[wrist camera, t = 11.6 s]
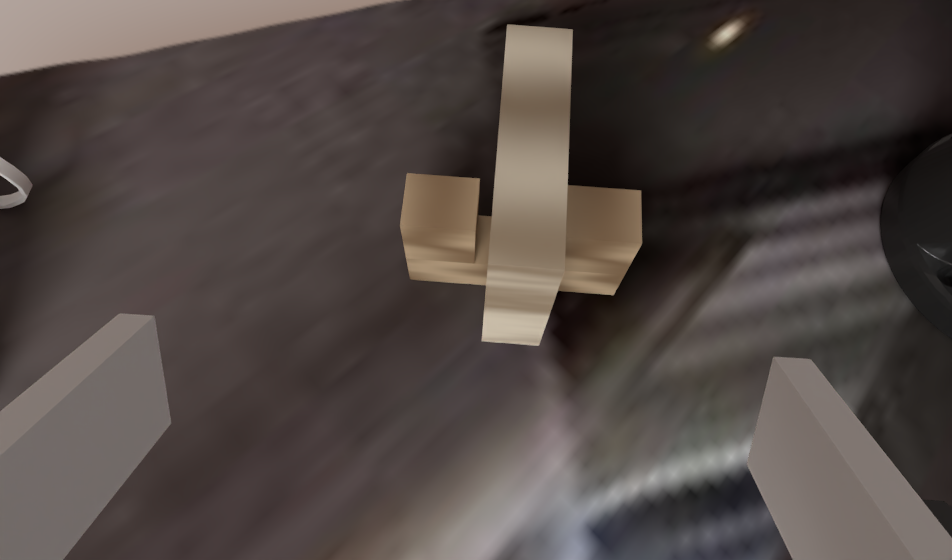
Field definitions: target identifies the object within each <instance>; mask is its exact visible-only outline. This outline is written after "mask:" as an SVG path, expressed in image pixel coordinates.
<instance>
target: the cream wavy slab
mask: <svg viewBox="0 0 952 560" xmlns="http://www.w3.org/2000/svg"><path fill="white" fill-rule="evenodd" d="M572 38H573V29H561V28H547V27H534V26H520V25H507V33H506V45H505V58H504V70H503V83H502V95H501V107H500V120H499V132H498V145H497V157H496V170H495V182H494V194H493V207H492V219H491V232H490V244H489V257H488V269H487V282H486V294H485V307H484V319H483V331H482V341H486V342H498V343H511V344H523V345H535V346H539V344H540V341H541V338H542V335H543V332H544V329H545V326H546V323H547V321H548V318H549V315H550V312H551V309H552V306H553V303H554V300H555V297H556V294H557V291H558V288H559V286H560V283H561V280H562V277H563V274H564V271H565V251H566V220H567V190H568V159H569V129H570V98H571V68H572Z"/></svg>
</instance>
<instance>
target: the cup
mask: <svg viewBox="0 0 952 560" xmlns="http://www.w3.org/2000/svg"><path fill="white" fill-rule="evenodd" d="M0 176H2V177H4V178H5V179H6V180H8V181H9V182H10V183H12V184H13V185H14V186H16V187H17V188H18V190H19V191H18V192H16V193H13V194H11V195H3V196H0V209H5V208H11V207H14V206H17V205H19V204H21V203H23V202H25V200H26V198H27V197H28V194H29V192H30V190H31V188H32V186H33V185H32V183H31V182H30V180H29V179H28V177H27V176H26V175H25V174H23V173H22V172H21V171H20V170H18V169H17V168H16V167H15V166H13V165H12V164H10V163H8V162H7V161H5V160H4V159H2V158H1V157H0Z"/></svg>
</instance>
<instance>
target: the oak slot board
mask: <svg viewBox="0 0 952 560" xmlns="http://www.w3.org/2000/svg"><path fill="white" fill-rule="evenodd" d="M479 188H480V179H479V178H465V177H452V176H438V175H425V174H411V173H407V177H406V184H405V192H404V199H403V207H402V214H401V222H400V228H401V233H402V238H403V244H404V249H405V254H406V260H407V265H408V270H409V276H410V280H423V281H436V282H449V283H462V284H476V285H486V282H487V269H488V257H489V244H490V232H491V219H492V216H480V215H478V211H479ZM641 245H642V214H641V191H640V190H627V189H613V188H600V187H586V186H573V185H568V190H567V220H566V251H565V271H564V274H563V277H562V280H561V283H560V286H559V288H558V291H567V292H580V293H593V294H606V295H614V293H615V291H616V290H617V288H618V286H619V284H620V282H621V281H622V279H623V277H624V275H625V273H626V272H627V270H628V268H629V266H630V264H631V263H632V261H633V259H634V257H635V255H636V254H637V252H638V250H639V248H640V246H641Z"/></svg>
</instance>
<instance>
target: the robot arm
mask: <svg viewBox="0 0 952 560" xmlns="http://www.w3.org/2000/svg"><path fill="white" fill-rule="evenodd" d="M881 235H882V241H883V246H884V250H885V254H886V257H887V260H888V262H889V265H890V267H891V270H892V272H893V274H894V276H895V278H896V280H897V281H898V283H899V285H900V286H901V288H902V289H903V291H904V292H905V294H906V295H907V297H908V298H909V299H910V300H911V302H912V303H913V304H914V305H915V307H916V308H917V309H918V310H919V311H920V312H921V313H922V314H923V315H924V316H925V317H926V318H927V319H928V320H929V321H930V322H931V323H932V324H933V325H934V326H936V327H937V328H938V329H939V330H941V331H942V332H943V333H944V334H946V335H947V336H949V337H950V338H951V339H952V133H951V134H949V135H947V136H944V137H943V138H941V139H939V140H937V141H936V142H934V143H933V144H931V145H930V146H928V147H927V148H926V149H925V150H923V151H922V152H921V153H920V154H919V155H918V156H917V157H915V158H914V159H913V160H912V161H911V162H910V163H909V164H908V165H907V166H905V167H904V168H903V169H902V170H901V171H900V172H899V174H898V175H897V176H896V177H895V179H894V180H893V182H892V183H891V185H890V187H889V189H888V191H887V194H886V196H885V199H884V203H883V207H882V213H881ZM170 424H171V419H170V413H169V406H168V400H167V393H166V387H165V380H164V374H163V368H162V361H161V355H160V348H159V342H158V336H157V329H156V323H155V316H150V315H135V314H118V315H117V316H116V317H115V318H113V319H112V320H111V321H110V322H108V323H107V324H106V325H105V326H104V327H102V328H101V329H100V330H99V331H97V332H96V333H95V334H94V335H93V336H91V337H90V338H89V339H88V340H87V341H85V342H84V343H83V344H82V345H80V346H79V347H78V348H77V349H76V350H74V351H73V352H72V353H71V354H69V355H68V356H67V357H66V358H65V359H63V360H62V361H61V362H60V363H59V364H57V365H56V366H55V367H54V368H52V369H51V370H50V371H49V372H48V373H46V374H45V375H44V376H43V377H41V378H40V379H39V380H38V381H37V382H35V383H34V384H33V385H32V386H30V387H29V388H28V389H27V390H26V391H24V392H23V393H22V394H21V395H20V396H18V397H17V398H16V399H15V400H13V401H12V402H11V403H10V404H9V405H7V406H6V407H5V408H4V409H2V410H1V411H0V560H63V559H64V558H65V556H66V555H67V554H68V553H69V551H70V550H71V549H72V548H73V546H74V545H75V544H76V543H77V541H78V540H79V539H80V538H81V536H82V535H83V534H84V532H85V531H86V530H87V529H88V527H89V526H90V525H91V524H92V522H93V521H94V520H95V519H96V517H97V516H98V515H99V514H100V512H101V511H102V510H103V509H104V507H105V506H106V505H107V503H108V502H109V501H110V500H111V498H112V497H113V496H114V495H115V493H116V492H117V491H118V490H119V488H120V487H121V486H122V485H123V483H124V482H125V481H126V480H127V478H128V477H129V476H130V474H131V473H132V472H133V471H134V469H135V468H136V467H137V466H138V464H139V463H140V462H141V461H142V459H143V458H144V457H145V456H146V454H147V453H148V452H149V450H150V449H151V448H152V447H153V445H154V444H155V443H156V442H157V440H158V439H159V438H160V437H161V435H162V434H163V433H164V432H165V430H166V429H167V428H168V427H169V425H170ZM747 466H748V468H749V470H750V472H751V474H752V476H753V478H754V480H755V482H756V484H757V486H758V488H759V491H760V493H761V495H762V497H763V499H764V501H765V503H766V505H767V507H768V509H769V511H770V513H771V515H772V518H773V520H774V522H775V524H776V526H777V528H778V530H779V532H780V534H781V536H782V538H783V540H784V542H785V544H786V547H787V549H788V551H789V553H790V555H791V557H792V559H793V560H952V507H951V506H949V505H948V504H947V503H945V502H944V501H933V500H922V499H921V498H920V497H919V496H918V494H917V493H916V492H915V491H914V489H913V488H912V487H911V486H910V484H909V483H908V482H907V480H906V479H905V478H904V477H903V475H902V474H901V473H900V472H899V470H898V469H897V468H896V467H895V465H894V464H893V463H892V462H891V460H890V459H889V458H888V456H887V455H886V454H885V453H884V451H883V450H882V449H881V448H880V446H879V445H878V444H877V443H876V441H875V440H874V439H873V437H872V436H871V435H870V434H869V432H868V431H867V430H866V429H865V427H864V426H863V425H862V424H861V422H860V421H859V420H858V418H857V417H856V416H855V415H854V413H853V412H852V411H851V410H850V408H849V407H848V406H847V405H846V403H845V402H844V401H843V399H842V398H841V397H840V396H839V394H838V393H837V392H836V391H835V389H834V388H833V387H832V386H831V384H830V383H829V382H828V380H827V379H826V378H825V377H824V375H823V374H822V373H821V372H820V370H819V369H818V368H817V367H816V365H815V364H814V363H813V361H812V360H811V359H800V358H785V357H773V361H772V365H771V369H770V373H769V377H768V381H767V385H766V389H765V393H764V397H763V401H762V405H761V409H760V413H759V417H758V421H757V425H756V429H755V433H754V437H753V441H752V445H751V449H750V453H749V457H748V461H747Z"/></svg>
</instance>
